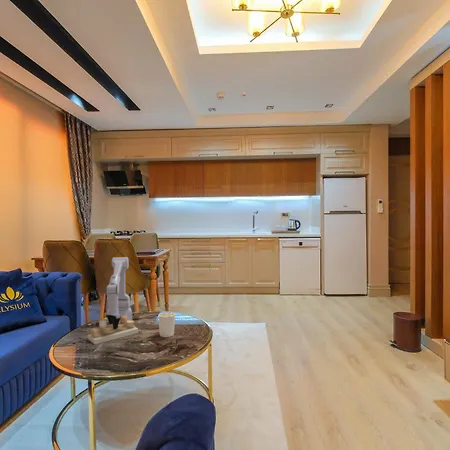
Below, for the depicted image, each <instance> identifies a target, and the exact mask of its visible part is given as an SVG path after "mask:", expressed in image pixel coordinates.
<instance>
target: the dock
mask: <svg viewBox="0 0 450 450" xmlns="http://www.w3.org/2000/svg"><path fill="white" fill-rule="evenodd" d="M138 333H139V328H138V327H136V326H135V327H134V328H130V329H126V330H122V331H118V332H114V333H110V334H106V335H102V336H98V337H94V336H93V335H92V333H90V334H87V340H88V341H90V342H91V343H92V344H93V345H98V344H102V343H106V342H109V341H113V340H117V339H120V338H124V337H128V336H131V335H136V334H138Z"/></svg>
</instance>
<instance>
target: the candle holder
mask: <svg viewBox="0 0 450 450" xmlns="http://www.w3.org/2000/svg"><path fill="white" fill-rule="evenodd" d="M157 317H158V328H159V329H158V330H159V336H160V337H162V338H170V337H172V336H174V335H175V324H176V323H175V322H176V321H175V319H176V318H175V317H176V314H175V312H171V311H165V312H161V313H158V315H157Z"/></svg>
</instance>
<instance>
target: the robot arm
mask: <svg viewBox="0 0 450 450" xmlns="http://www.w3.org/2000/svg"><path fill="white" fill-rule="evenodd" d="M129 262H130V261H129V257H128V256H123V257H122V256H120V257H114V256H113V257H112V259H111V266H112V268H113V274H112V275H110V279H109V282H108V285H107V286H106V291H105V293H106V298H107V309H106V313H105V314H106V315H105V317H106V320H107V322H108V325H111V324H113V328H114V329H117V328H118V324H119V322H120V319H121V316H122V315H127V321H128V320H133V312H132V308H131V298H130V296H129V294H127V293H126V272H127V271H126V270H128V269H129V268H130V267H129V266H130V265H129Z"/></svg>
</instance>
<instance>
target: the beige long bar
mask: <svg viewBox="0 0 450 450" xmlns="http://www.w3.org/2000/svg"><path fill="white" fill-rule="evenodd" d="M135 325H136V323H135V321H134V320H133V319H132V320H128V321H127V323H125V324H120V322H119V324H118V328H117V329H114V328H113V324H111V325H109V324H107V328H104V329H100V328H99V326H98V327H94V328H91V333H90V334H92V335H93V336H94V337H98V336H102V335H106V334H110V333H114V332H118V331H122V330H126V329H130V328H134V327H136V326H135Z"/></svg>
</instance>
